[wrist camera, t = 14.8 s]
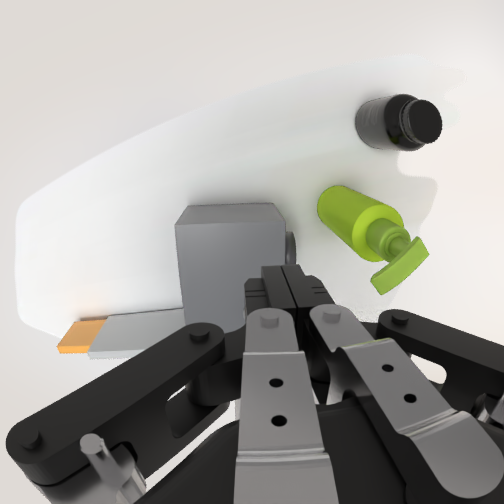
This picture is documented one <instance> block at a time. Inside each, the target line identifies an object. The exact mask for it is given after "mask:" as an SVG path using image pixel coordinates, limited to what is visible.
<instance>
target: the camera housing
mask: <svg viewBox="0 0 504 504" xmlns="http://www.w3.org/2000/svg"><path fill="white" fill-rule="evenodd" d="M285 225H286V221H285V220H284V218H283V217H282V215H281V214H280V213H279V211H278V210H277V208H276V207H275V205H274V204H273V203H250V204H221V205H198V206H187V208H186V209H185V210H184V212H183V213H182V215H181V216H180V218H179V219H178V221H177V222H176V224H175V236H176V247H177V257H178V267H179V276H180V285H181V293H182V302H183V309H184V317H185V324H186V325H189V324H192V323H199V322H206V323H212V324H215V325H217V326H219V327H221V328H222V329H223V331H224V333H228V332H232V331H235V330H237V329H239V328H241V327H242V326H244V325H245V301H244V284H245V282H246V281H247V280H248V279H249V278H261V266H273V265H295V264H296V245H295V239H294V235H293V233H292V232H285Z"/></svg>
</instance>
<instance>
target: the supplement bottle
mask: <svg viewBox="0 0 504 504" xmlns="http://www.w3.org/2000/svg"><path fill="white" fill-rule="evenodd" d="M356 127H357V131H358V133H359V135H360V137H361V138H362V140H363V141H364V142H365V143H366V144H368V145H369V146H371V147H374V148H378V149H388V150H399V151H415V150H418V149H420V148H421V147H423V146H424V145H425V144H429V143H432V142H435V140H437V139H438V137H439V136H440V134H441V130H442V120H441V116H440V113H439V111H438V109H437V108H436V107H435V106H434V105H433V104H432V103H430V102H429V101H426V100H422V99H421V100H419V99H417V98H416V97H414V96H412V95H408V94H398V95H393V96H389V97H384V98H380V99H376V100H372V101H369V102H367V103H365V104H364V105H363V106H362V107H361V108H360V109H359V111H358V113H357V117H356Z"/></svg>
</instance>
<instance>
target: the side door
mask: <svg viewBox="0 0 504 504" xmlns="http://www.w3.org/2000/svg"><path fill="white" fill-rule="evenodd" d="M184 326H186V324H185V317H184V309H174V310H165V311H156V312H146V313H136V314H125V315H114V316H108V318H107V319H104V320H91V321H78V322H74V324H73V325H72V326H71V328H70V329H69V330H68V332H67V333H66V334H65V336H64V337H63V339H62V340H61V341H60V343H59V344H58V345H57V348H58V350H59V352H60V353H88V356H89V358H90V359H116V358H117V359H119V358H132V357H134V356H136V355H137V354H139V353H141V352H142V351H144V350H146V349H147V348H149V347H151V346H152V345H154V344H156V343H157V342H159V341H161V340H162V339H164V338H166V337H167V336H169V335H171V334H172V333H174V332H176V331H177V330H179V329H181V328H182V327H184Z"/></svg>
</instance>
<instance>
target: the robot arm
mask: <svg viewBox="0 0 504 504" xmlns="http://www.w3.org/2000/svg"><path fill="white" fill-rule="evenodd" d="M244 301H245V325H244V326H242V327H241V328H239V329H237V330H235V331H232V332H228V333H224V331H223V329H222V328H221V327H219V326H217V325H215V324H212V323H206V322H199V323H192V324H189V325H186V326H184V327H182V328H181V329H179V330H177V331H176V332H174V333H172V334H171V335H169V336H167V337H166V338H164V339H162V340H161V341H159V342H157V343H156V344H154V345H152V346H151V347H149V348H147V349H146V350H144V351H142V352H141V353H139V354H137V355H136V356H134V357H132V358H131V359H129V360H127V361H126V362H124V363H122V364H121V365H119V366H117V367H115V368H114V369H112V370H110V371H108V372H107V373H105V374H104V375H102V376H100V377H98V378H97V379H95V380H93V381H91V382H90V383H88V384H86V385H84V386H83V387H81V388H79V389H77V390H76V391H74V392H72V393H70V394H69V395H67V396H65V397H63V398H61V399H60V400H58V401H56V402H54V403H53V404H51V405H49V406H47V407H45V408H44V409H42V410H40V411H38V412H37V413H35V414H33V415H31V416H29V417H27V418H25V419H24V420H22V421H20V422H18V423H17V424H16V425H14V426H13V427H12V428H11V430H10V431H9V433H8V435H7V438H6V449H7V452H8V454H9V455H10V456H11V458H12V459H13V460H14V461H15V462H16V464H17V465H18V466H19V467H20V468H21V469H22V471H23V472H24V474H25V475H26V477H27V478H28V479H29V480H30V482H32V484H33V485H34V486H35V487H36V488H37V489H38V490H39V491H40V492H41V493H42V494H43V495H44V496H45V497H46V498H47V499H48V500H49V501H50V502H51V503H52V504H504V346H503V345H500V344H497V343H494V342H491V341H488V340H486V339H483V338H480V337H477V336H475V335H472V334H469V333H466V332H463V331H461V330H458V329H455V328H452V327H449V326H447V325H444V324H441V323H438V322H435V321H432V320H430V319H427V318H424V317H421V316H419V315H416V314H413V313H410V312H408V311H404V310H398V309H391V310H386V311H384V312H382V313H381V314H380V315H379V319H378V323H370V322H360V321H359V320H358V319H357V318H356V317H355V315H354V314H353V313H352V312H351V311H350V310H349V309H347V308H346V307H343V306H340V305H336V304H335V303H334V301H333V299H332V298H331V296H330V295H329V293H328V291H327V290H326V288H324V285H323V283H322V282H321V280H319V279H317V278H316V277H314V276H312V275H310V276H305V275H304V273H303V271H302V269H301V267H300V265H299V264H295V265H273V266H261V278H249V279H248V280H247V281H246V282H245V284H244ZM412 354H414V355H416V356H418V357H421V358H423V359H426V360H429V361H431V362H433V363H436V364H438V365H441V366H442V367H443V368H444V369H445V371H446V373H447V376H446V380H445V382H444V383H443V384H438V383H436V382H433V381H430V380H428V379H427V378H426V377H425V375H424V374H423V373H422V372H421V371H420V370H419V368H418V367H417V366H416V365H415V364H414V363H413V361H412V360H411V355H412ZM183 386H185V387H186V388H185V389H183V390H182V391H181V392H180V393H178V394H177V395H175V396H174V397H173V398H171V399H170V400H168V399H169V398H170V396H171V395H173V394H174V393H175V392H177V391H178V390H179V389H181V388H182V387H183ZM233 400H235V414H236V415H235V416H236V421H233V422H231V423H229V424H226V425H224V426H223V427H221V428H219V429H218V430H216V431H215V432H214V433H212V434H211V435H209V436H208V437H207V438H206V439H205V440H204V441H203V442H202V443H201V444H200V445H199V446H198V447H197V448H195V449H194V450H193V451H192V452H191V453H190V454H189V455H188V456H187V457H186V458H185V459H184V460H183V461H182V462H180V463H179V464H178V465H177V466H176V467H175V468H174V469H173V470H172V471H171V472H169V473H168V474H167V475H166V476H165V477H164V478H163V479H161V481H159V482H158V483H157V484H156V485H155V486H153V487H152V488H151V489H150V490H149V491H148V492H146V482H145V479H146V478H148V477H149V476H150V475H152V474H153V473H154V472H155V471H157V470H158V469H159V468H160V467H162V466H163V465H164V464H165V463H167V462H168V461H169V460H170V459H171V458H173V457H174V456H175V455H176V454H178V453H179V452H180V451H181V450H182V449H183V448H185V447H186V446H187V445H188V444H189V443H190V442H192V441H193V440H194V439H195V438H196V437H197V436H199V435H200V434H201V433H202V432H203V431H204V430H205V429H207V428H208V427H209V426H210V425H211V424H212V423H213V422H214V421H215V420H217V419H218V418H219V417H220V416H221V415H222V414H223V413H224V412H225V411H226V410H227V409H228V407H229V404H230V401H233ZM145 492H146V493H145Z"/></svg>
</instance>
